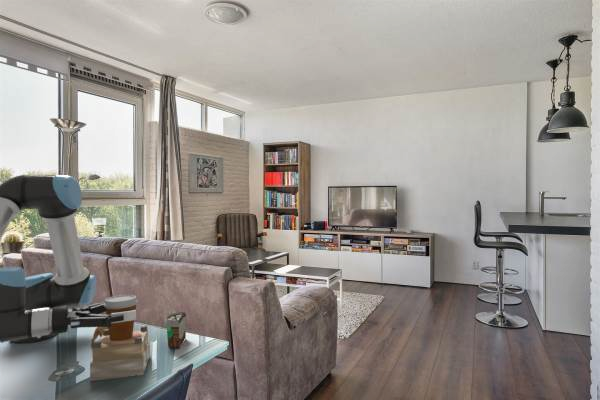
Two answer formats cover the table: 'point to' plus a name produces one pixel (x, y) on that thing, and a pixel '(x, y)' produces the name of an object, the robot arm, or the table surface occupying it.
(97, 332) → the lion figurine
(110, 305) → the disposable coffee cup
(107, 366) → the wooden crate
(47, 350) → the table surface
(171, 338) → the food container
